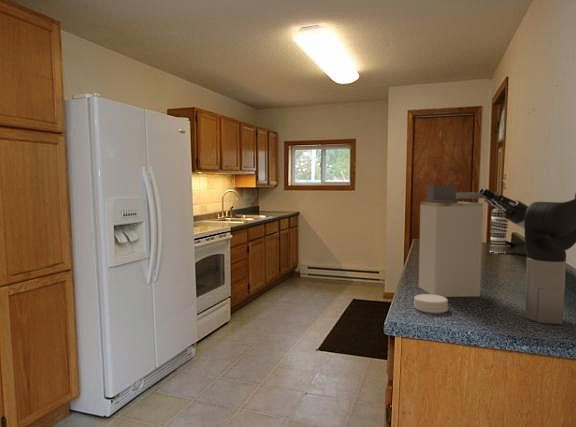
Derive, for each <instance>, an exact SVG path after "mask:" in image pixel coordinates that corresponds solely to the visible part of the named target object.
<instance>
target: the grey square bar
mask: <svg viewBox="0 0 576 427" xmlns="http://www.w3.org/2000/svg"><path fill="white" fill-rule="evenodd" d="M425 189H426V191H425V194H426V195H425V196H426V197H425V199H426V202H427V203H434V200H457V199H485V198H488V197H486V196H484V195H483V194H482V193H478V192H456V191H457V185H426V187H425ZM493 193H494V194H497V195H500V194H499V192H493Z"/></svg>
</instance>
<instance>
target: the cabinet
mask: <svg viewBox="0 0 576 427" xmlns="http://www.w3.org/2000/svg"><path fill="white" fill-rule="evenodd" d="M483 208H484V203H483V202H473V201H472V202H470V201H469V202H468V201H458V199H456V200H434V203H427V202H426V198H424V201H420V208H419V209H420V210H419V258H418V259H419V260H418V264H419V265H418V287H419V288H420V289H421V290H422V291H424V292H426V293H427V294H433V295H439V296H443V297H445V298H450V297H451V298H453V297H454V298H455V297H462V298H463V297H480V296H481V279H482V278H481V276H482V274H481V273H482V270H481V269H482V248H483V247H482V244H483V242H482V240H483V237H482V236H483V211H484V210H483Z"/></svg>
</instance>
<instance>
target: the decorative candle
mask: <svg viewBox="0 0 576 427" xmlns="http://www.w3.org/2000/svg"><path fill="white" fill-rule="evenodd" d="M489 222H490V223H489V225H490V227H489V231H490V240H489V241H490V242H489V252H490V253H491V252H494V253H493V254H498V253H504V254H507V245H508V244H507V242H508V241H507V233H508V230H507V229H508V227H507V226H508V225H509V224H508V223H509V220H508V219H506V218H505V217H504V216H503V210H502V211H501V210H499V209H497V208H493V209H492V211H491V219H490V221H489Z"/></svg>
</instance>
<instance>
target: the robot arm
mask: <svg viewBox="0 0 576 427" xmlns="http://www.w3.org/2000/svg"><path fill="white" fill-rule="evenodd" d="M477 193H482V194H483V195H484V196H486V197H488V198H484V201H485V202H486V203H487V204H488V205H489V206H490V207H491V208H494V207H495V208H496V209H499V210H501V211H502V210H503V216H504V217H505V218H506V219H507V221H508V222H509V221H510V222H511V223H513V224H514V225H516V226H518V227H519V228H522V229H524V230H523V231H524V247H525V251H526V267H525V268H526V272H525V273H526V274H525V297H524V301H525V302H524V316H525V318H527V319H529V320H531V321H534V322H537V323H538V324H539V323H540V324H542V323H543V324H551V325H552V324H553V325H554V324H555V325H563V324H564V314H565V313H564V310H565V288H566V287H565V285H566V266H567V252H566V251H568V250H569V249H571V248H572V247H573V246H574V245H575V244H576V192H575V194H574V199H572V200H571V199H570V200H569V201H562V202H559V201H558V202H557V201H553V202H552V201H551V202H550V201H534V202H531V203H530V204H529V205H527V204H524V203H523V202H522V201H520V200H518V199H517V200H513V199H510V198H509V197H506V196H504V195H502V194H499V195H497V194H494V193H495V192H492V191H491V190H489V189H487V188H485V189H484V188H480V189H479V191H477Z"/></svg>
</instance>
